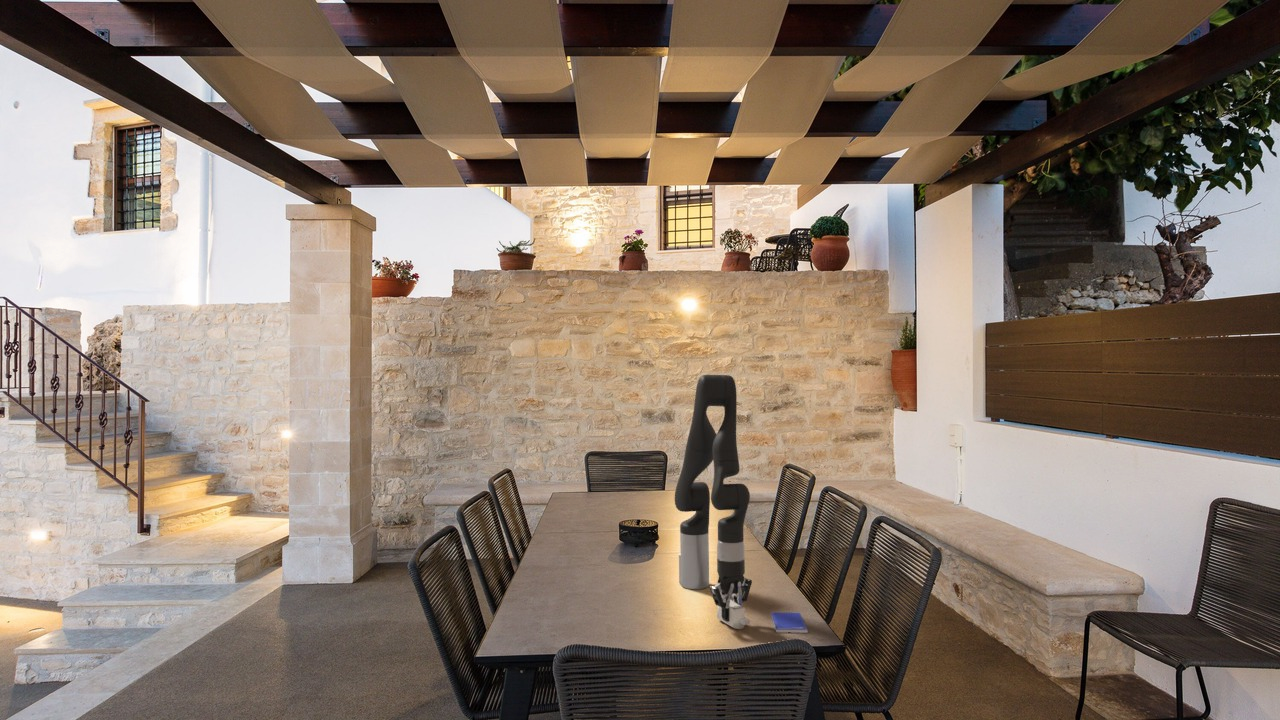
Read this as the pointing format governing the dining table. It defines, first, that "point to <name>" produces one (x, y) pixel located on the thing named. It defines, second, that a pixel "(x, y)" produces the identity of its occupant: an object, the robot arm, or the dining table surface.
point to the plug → (734, 616)
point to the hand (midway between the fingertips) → (731, 618)
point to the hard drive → (789, 622)
